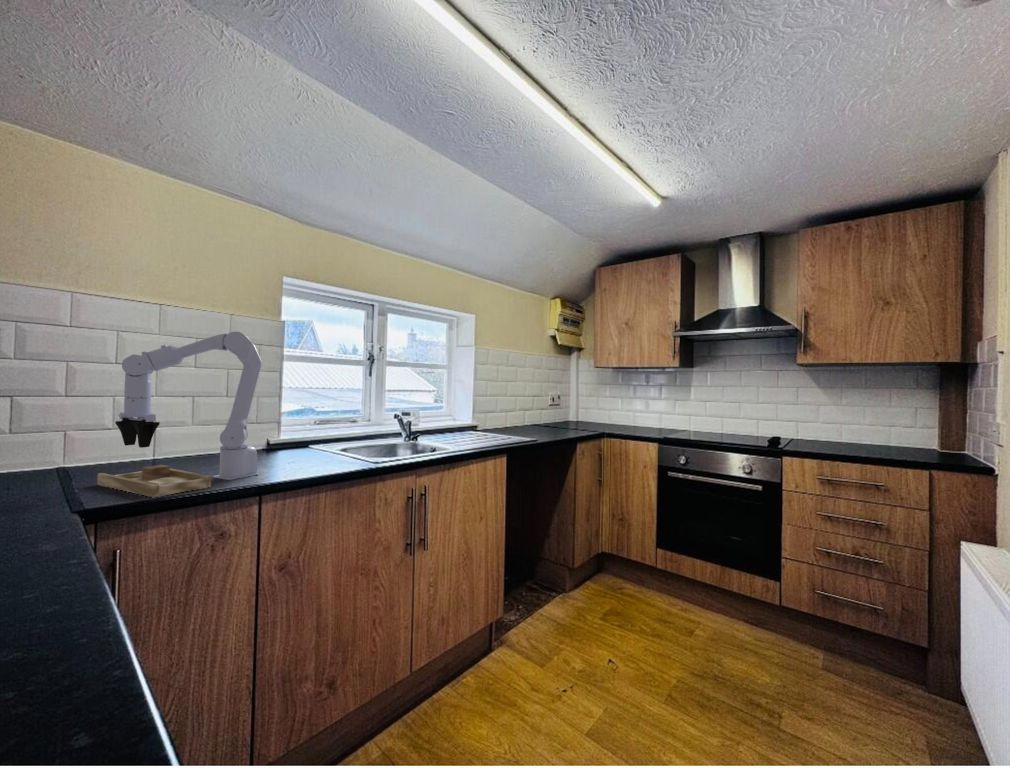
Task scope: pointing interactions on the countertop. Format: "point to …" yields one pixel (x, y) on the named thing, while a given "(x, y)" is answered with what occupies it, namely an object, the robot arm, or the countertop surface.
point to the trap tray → (155, 482)
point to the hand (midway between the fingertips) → (136, 446)
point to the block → (155, 472)
